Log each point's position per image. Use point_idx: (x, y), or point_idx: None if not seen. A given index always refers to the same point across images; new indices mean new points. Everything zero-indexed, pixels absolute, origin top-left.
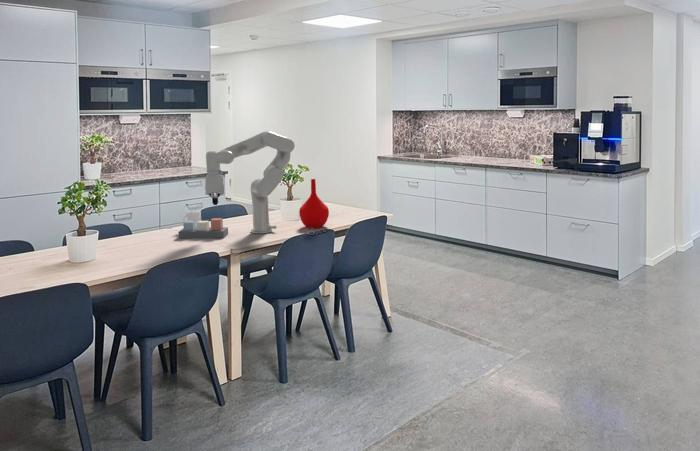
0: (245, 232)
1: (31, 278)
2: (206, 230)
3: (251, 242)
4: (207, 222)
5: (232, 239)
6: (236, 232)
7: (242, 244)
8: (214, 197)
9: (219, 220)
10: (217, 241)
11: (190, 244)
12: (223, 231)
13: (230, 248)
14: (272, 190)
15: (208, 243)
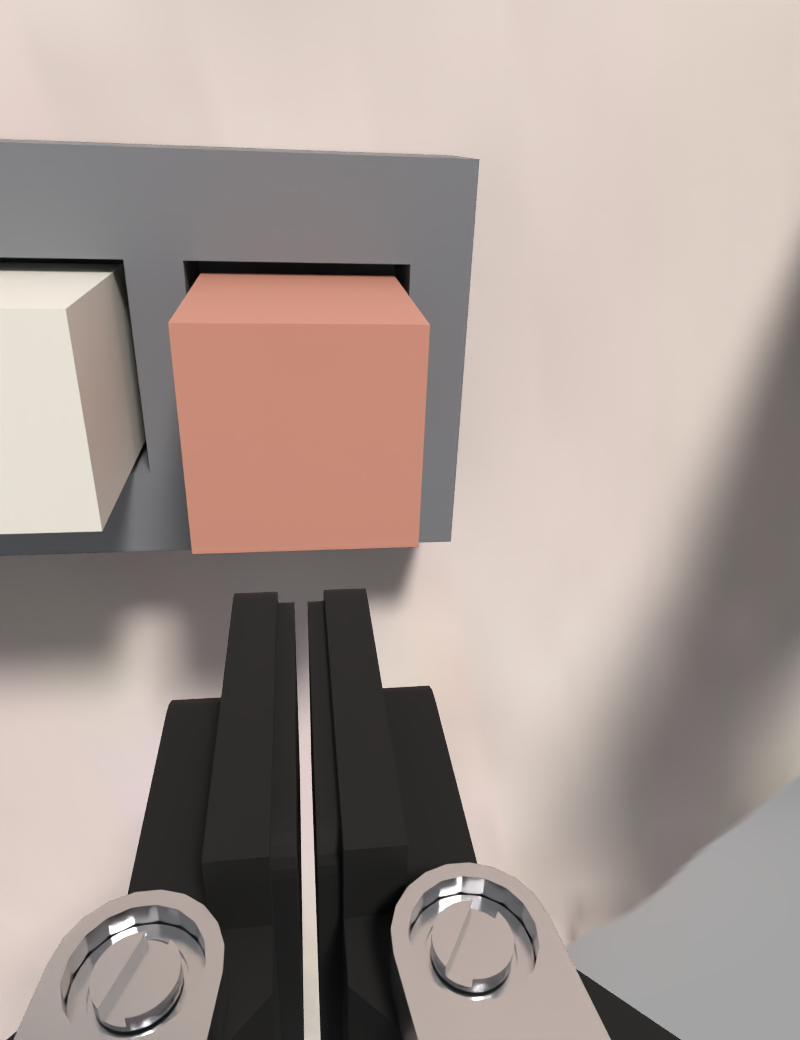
0: (755, 41)
1: None
2: (129, 476)
3: (773, 713)
4: (94, 455)
5: (560, 577)
6: (591, 19)
7: (677, 789)
8: (278, 1034)
9: (397, 541)
10: (386, 676)
11: (100, 811)
12: (449, 536)
13: (569, 914)
14: None
15: (302, 765)
